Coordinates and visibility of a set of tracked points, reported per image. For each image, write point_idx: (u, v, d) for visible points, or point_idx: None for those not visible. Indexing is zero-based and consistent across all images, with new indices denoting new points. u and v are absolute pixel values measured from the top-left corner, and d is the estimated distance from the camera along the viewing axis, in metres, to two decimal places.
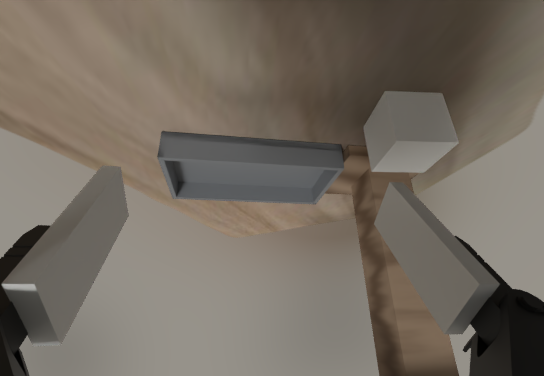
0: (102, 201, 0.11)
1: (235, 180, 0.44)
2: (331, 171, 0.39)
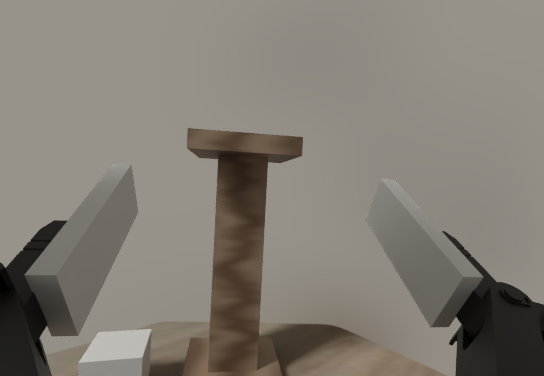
0: (115, 197, 0.12)
1: None
2: None
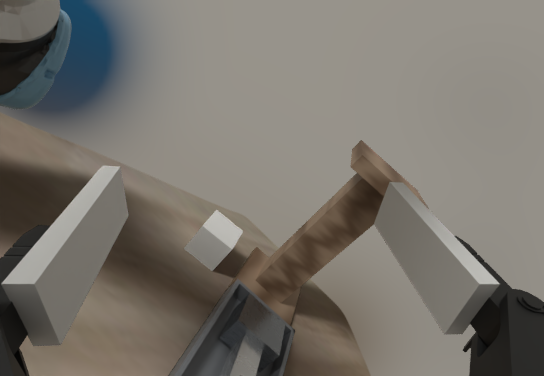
0: (102, 201, 0.11)
1: None
2: (245, 295, 0.45)
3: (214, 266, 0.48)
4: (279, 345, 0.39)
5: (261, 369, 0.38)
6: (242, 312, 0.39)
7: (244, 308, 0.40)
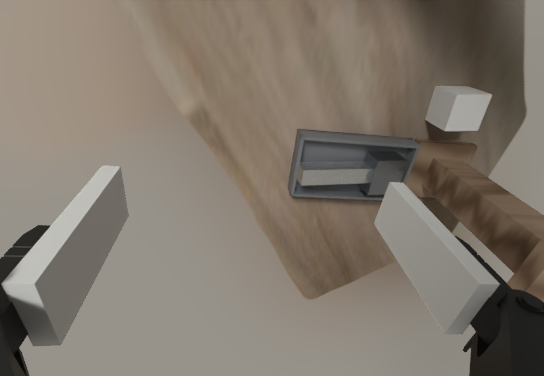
0: (102, 201, 0.11)
1: None
2: (409, 156, 0.54)
3: (428, 120, 0.52)
4: (375, 193, 0.54)
5: (359, 184, 0.56)
6: (386, 161, 0.51)
7: (390, 161, 0.51)
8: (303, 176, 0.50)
